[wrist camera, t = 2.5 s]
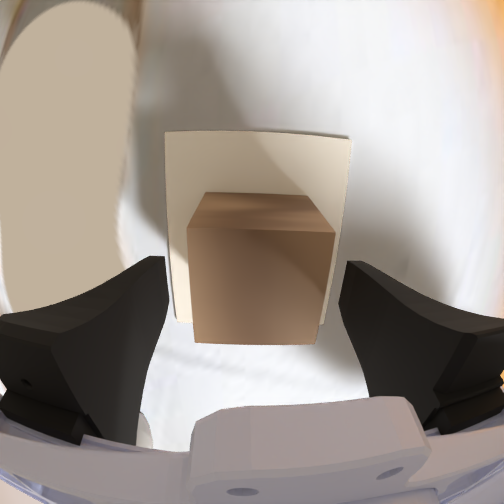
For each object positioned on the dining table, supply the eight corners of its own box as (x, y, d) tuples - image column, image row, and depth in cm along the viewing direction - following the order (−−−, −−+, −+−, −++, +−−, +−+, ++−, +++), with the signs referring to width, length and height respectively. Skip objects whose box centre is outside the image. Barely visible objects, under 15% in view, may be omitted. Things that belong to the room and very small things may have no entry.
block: (307, 195, 14) (335, 232, 10) (297, 283, 16) (314, 344, 12) (205, 192, 14) (186, 227, 10) (207, 281, 16) (194, 342, 12)
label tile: (350, 139, 13) (352, 139, 13) (322, 322, 18) (323, 325, 18) (165, 131, 13) (164, 131, 13) (177, 320, 18) (177, 322, 18)
